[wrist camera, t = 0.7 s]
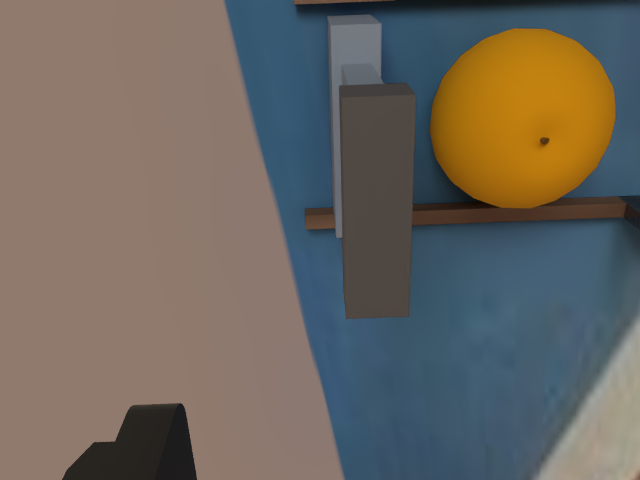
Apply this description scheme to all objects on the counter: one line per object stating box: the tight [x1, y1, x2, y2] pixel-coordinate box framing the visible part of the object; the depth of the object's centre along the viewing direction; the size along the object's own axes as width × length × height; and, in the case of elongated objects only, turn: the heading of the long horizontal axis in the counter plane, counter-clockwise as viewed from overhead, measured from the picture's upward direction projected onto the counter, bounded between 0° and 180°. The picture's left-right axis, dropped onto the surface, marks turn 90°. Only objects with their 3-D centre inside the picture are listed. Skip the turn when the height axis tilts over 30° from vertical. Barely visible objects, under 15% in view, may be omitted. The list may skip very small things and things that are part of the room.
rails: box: [294, 0, 626, 229], centre depth 30 cm, size 12×17×1 cm
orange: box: [430, 28, 616, 208], centre depth 27 cm, size 8×8×8 cm
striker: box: [327, 14, 416, 319], centre depth 24 cm, size 9×2×14 cm, turn 2°
